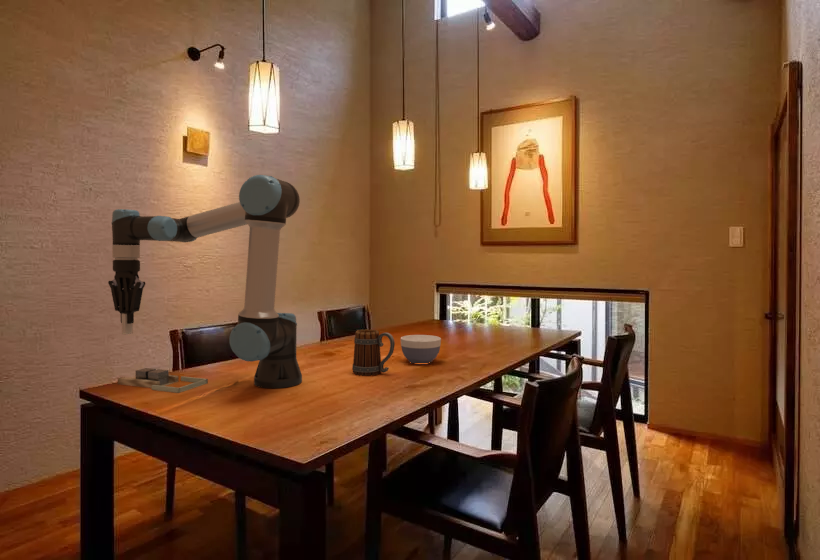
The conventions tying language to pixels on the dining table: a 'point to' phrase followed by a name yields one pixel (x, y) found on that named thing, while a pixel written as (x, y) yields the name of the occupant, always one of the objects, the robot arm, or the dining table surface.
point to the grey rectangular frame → (177, 390)
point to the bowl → (420, 348)
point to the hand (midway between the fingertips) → (127, 333)
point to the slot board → (145, 381)
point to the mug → (370, 352)
